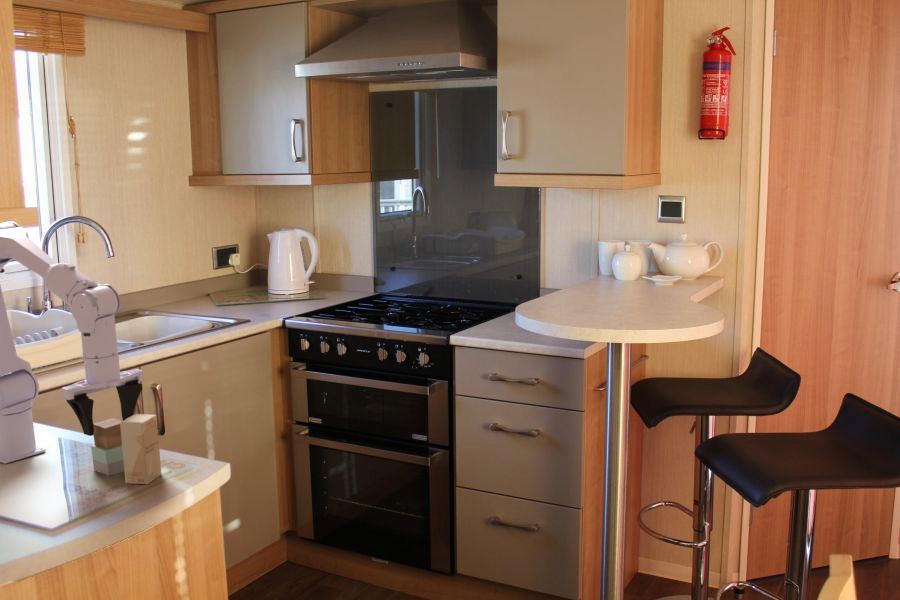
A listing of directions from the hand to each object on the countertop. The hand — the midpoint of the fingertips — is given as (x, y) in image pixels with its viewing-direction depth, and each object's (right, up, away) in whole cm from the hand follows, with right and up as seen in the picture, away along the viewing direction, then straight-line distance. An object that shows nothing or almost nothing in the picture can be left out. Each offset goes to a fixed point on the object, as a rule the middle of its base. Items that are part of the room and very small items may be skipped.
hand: (108, 428), depth 160 cm
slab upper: (0, -5, +1) cm, 6 cm away
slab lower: (0, -8, +2) cm, 8 cm away
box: (+8, -8, -4) cm, 12 cm away
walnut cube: (0, -3, +1) cm, 3 cm away
